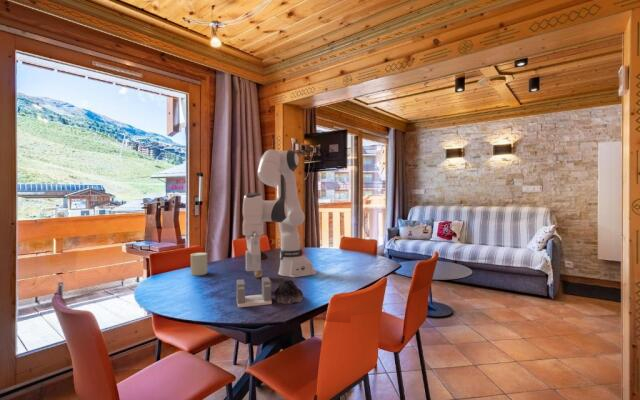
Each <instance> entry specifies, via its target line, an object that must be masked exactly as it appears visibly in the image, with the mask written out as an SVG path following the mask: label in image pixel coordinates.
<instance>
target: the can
mask: <svg viewBox="0 0 640 400" xmlns="http://www.w3.org/2000/svg"><path fill="white" fill-rule="evenodd" d="M206 274H208V253H207V252H194V253H191V254H190V275H191V276H205V275H206Z"/></svg>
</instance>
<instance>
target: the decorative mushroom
mask: <svg viewBox="0 0 640 400" xmlns="http://www.w3.org/2000/svg"><path fill="white" fill-rule="evenodd" d="M268 259H269V257H268V255H267V253H265V252H264V251H261V261H265V260H268ZM253 273H254V277H255V278H257V279H260V278H262V276H263V265H262V264H261V270H259V271H253Z"/></svg>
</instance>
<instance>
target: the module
mask: <svg viewBox="0 0 640 400" xmlns="http://www.w3.org/2000/svg"><path fill="white" fill-rule="evenodd" d="M261 252H262V251H261V250H260V255H258V256H257V259H256V264H252V256H251V254H250V252H249V250H248V249H247V250H245V271H246V272H254V271H259V270H261V265H262V260H261Z"/></svg>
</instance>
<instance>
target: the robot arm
mask: <svg viewBox="0 0 640 400" xmlns="http://www.w3.org/2000/svg"><path fill="white" fill-rule="evenodd" d="M258 160H259V164H258V168H257V177H258V179H259V181H260V182H262V183H263V184H264V185H266V186H269V187H272V188H275V189H276V199H274V200H264V199H263V195H262V194H261V193H259V192H251V193H246V194H245V195H244V196H243V200H242V201H243V202H242V217H243V221H242V235H243V236H245V242H246V248H247V250H249V252H250V254H251V256H252V264H256V259H257V256H258V255H260V251H261V238H262V237H261V236H262V235H264V222H273V223H278V227H279V234H280V250H279V259H280V262H279V269H278V275H279V276H282V277H289V278H299V277H305V276H306V277H307V276H312V275H313V276H314V275H317V273H318V271H317V270H316V269H315V268H314V266H313V263H312V261H311V260H310V259H308V257H306V256H305V255H306V251H305V250H304V249H301V244H300V243H301V240H300V239H301V237H300V236H301V235H300V233H299V230H298V226H301V225H302V224H303V223H304V222H305V219H306V216H305V213H304V211H303V209H302V207H301V203H300V199H299V195H298V187H297V179H296V173H295V171H296V169H297V168H298V167H299V161H300V157H299V155H298V153H297V151H295V150H293V149H290V150H276V149H267V150H266V151H265V152H264V153H263V154H262V155H261V156H260V157H259V159H258Z"/></svg>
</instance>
